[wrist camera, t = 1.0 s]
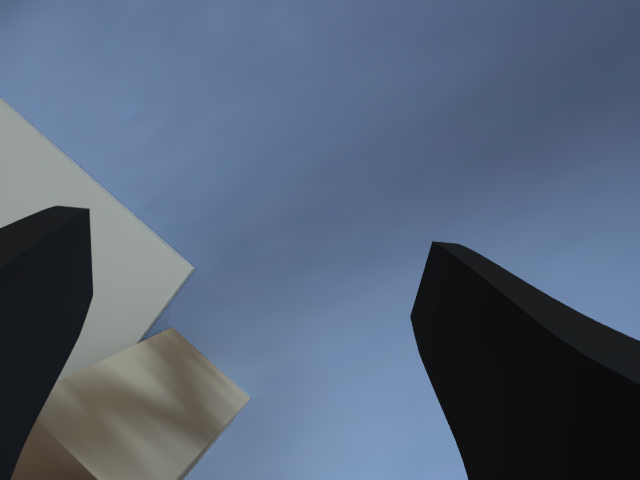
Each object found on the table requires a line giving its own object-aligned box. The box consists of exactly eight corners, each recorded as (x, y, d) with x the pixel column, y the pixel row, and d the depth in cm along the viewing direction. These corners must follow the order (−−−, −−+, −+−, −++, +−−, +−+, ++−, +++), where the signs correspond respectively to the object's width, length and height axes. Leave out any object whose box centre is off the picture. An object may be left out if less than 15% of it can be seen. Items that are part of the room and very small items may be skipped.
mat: (195, 268, 24) (192, 269, 24) (40, 474, 27) (36, 477, 26) (2, 99, 26) (-2, 98, 25) (-126, 309, 28) (-132, 310, 28)
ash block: (250, 398, 24) (126, 532, 14) (155, 513, 25) (-19, 707, 16) (172, 327, 24) (0, 408, 15) (83, 444, 26) (-127, 588, 16)
